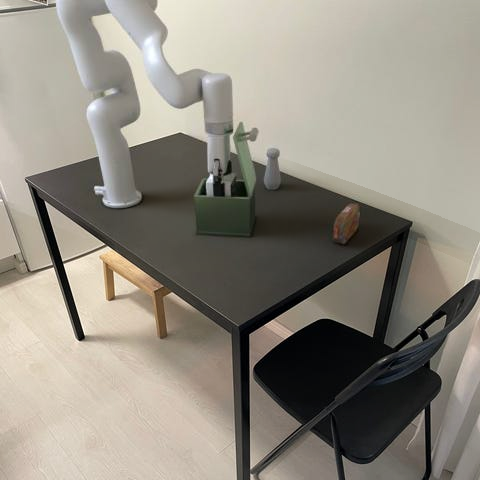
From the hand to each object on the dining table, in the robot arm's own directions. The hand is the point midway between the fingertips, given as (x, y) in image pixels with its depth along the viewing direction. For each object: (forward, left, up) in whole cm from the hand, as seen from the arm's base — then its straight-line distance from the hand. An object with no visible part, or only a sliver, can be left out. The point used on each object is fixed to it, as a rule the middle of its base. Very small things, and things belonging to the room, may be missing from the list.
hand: (221, 190), depth 138 cm
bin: (+1, 0, -11) cm, 11 cm away
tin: (+36, -3, -11) cm, 38 cm away
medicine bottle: (0, 0, -4) cm, 4 cm away
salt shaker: (+12, +28, -11) cm, 33 cm away
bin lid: (+7, 0, +9) cm, 11 cm away
